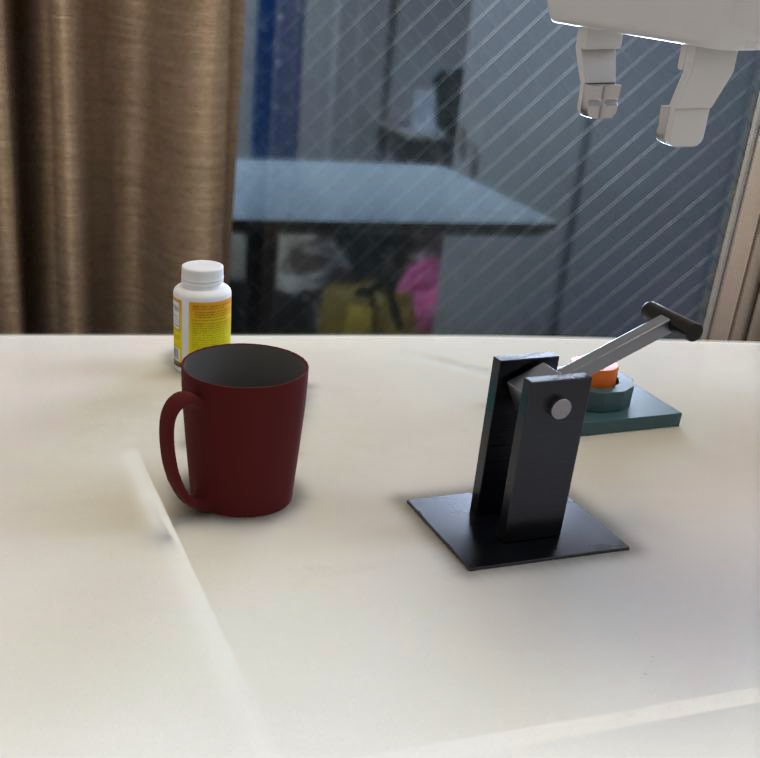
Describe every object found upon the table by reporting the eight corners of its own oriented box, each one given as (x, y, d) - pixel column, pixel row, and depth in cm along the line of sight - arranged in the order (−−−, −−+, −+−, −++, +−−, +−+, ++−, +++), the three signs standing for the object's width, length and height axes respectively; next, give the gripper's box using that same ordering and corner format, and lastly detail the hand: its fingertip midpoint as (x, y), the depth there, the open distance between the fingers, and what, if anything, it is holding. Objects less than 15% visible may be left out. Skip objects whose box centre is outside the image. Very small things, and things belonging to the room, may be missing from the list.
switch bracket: (549, 496, 80) (581, 335, 73) (626, 562, 71) (669, 386, 65) (405, 513, 77) (424, 347, 71) (467, 584, 69) (495, 402, 62)
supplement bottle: (241, 368, 103) (244, 264, 98) (204, 383, 99) (205, 276, 94) (199, 355, 106) (200, 254, 101) (161, 369, 102) (160, 265, 97)
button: (598, 371, 93) (602, 353, 92) (624, 388, 90) (628, 368, 89) (558, 375, 92) (562, 356, 91) (583, 391, 89) (587, 372, 88)
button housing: (610, 394, 98) (618, 353, 96) (676, 436, 90) (687, 393, 88) (495, 405, 96) (502, 363, 94) (552, 449, 87) (561, 405, 85)
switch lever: (658, 320, 71) (653, 290, 70) (706, 344, 67) (700, 312, 66) (504, 402, 71) (496, 374, 70) (542, 431, 67) (534, 401, 66)
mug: (209, 563, 70) (210, 411, 65) (124, 517, 76) (119, 373, 70) (324, 506, 78) (335, 366, 72) (240, 468, 83) (244, 335, 78)
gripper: (903, -209, 40) (805, 163, 47) (651, -164, 58) (607, 103, 65) (750, -211, 40) (673, 167, 47) (542, -164, 57) (509, 105, 64)
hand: (633, 130), depth 56 cm, fingers open, 8 cm apart
